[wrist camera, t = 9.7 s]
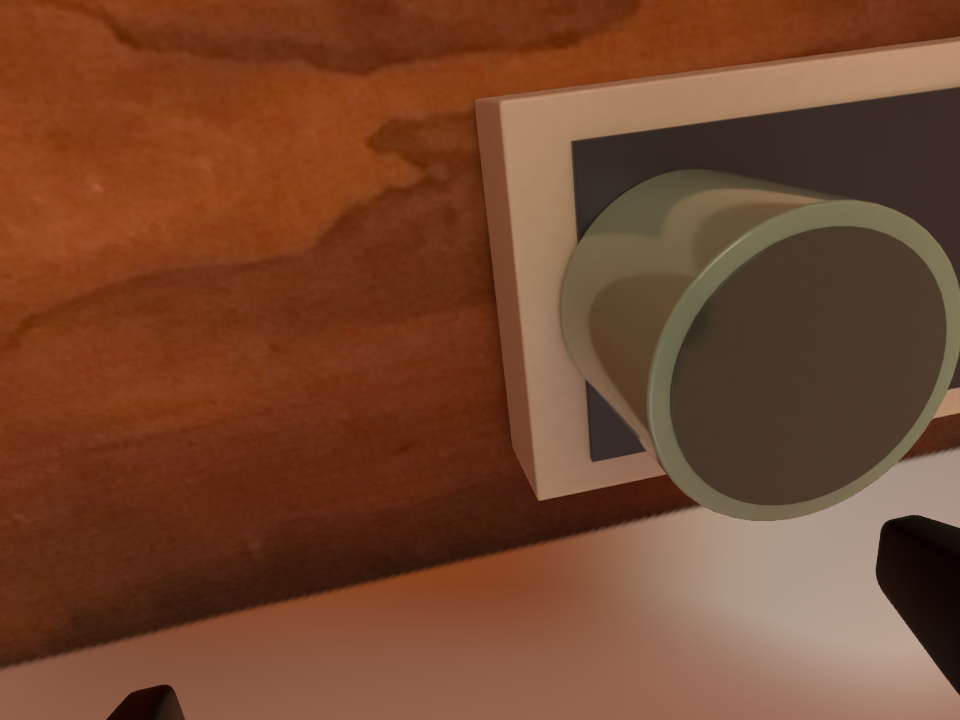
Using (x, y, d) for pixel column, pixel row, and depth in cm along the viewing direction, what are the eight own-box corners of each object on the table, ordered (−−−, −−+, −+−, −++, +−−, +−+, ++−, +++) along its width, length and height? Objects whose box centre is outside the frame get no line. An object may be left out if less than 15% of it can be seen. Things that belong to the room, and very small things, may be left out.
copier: (1155, 11, 20) (1319, -5, 16) (1079, 336, 23) (1200, 376, 20) (473, 99, 17) (505, 100, 14) (512, 448, 21) (544, 515, 18)
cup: (827, 323, 18) (1001, 405, 13) (630, 452, 18) (731, 578, 13) (738, 114, 15) (913, 123, 11) (512, 267, 15) (586, 342, 11)
